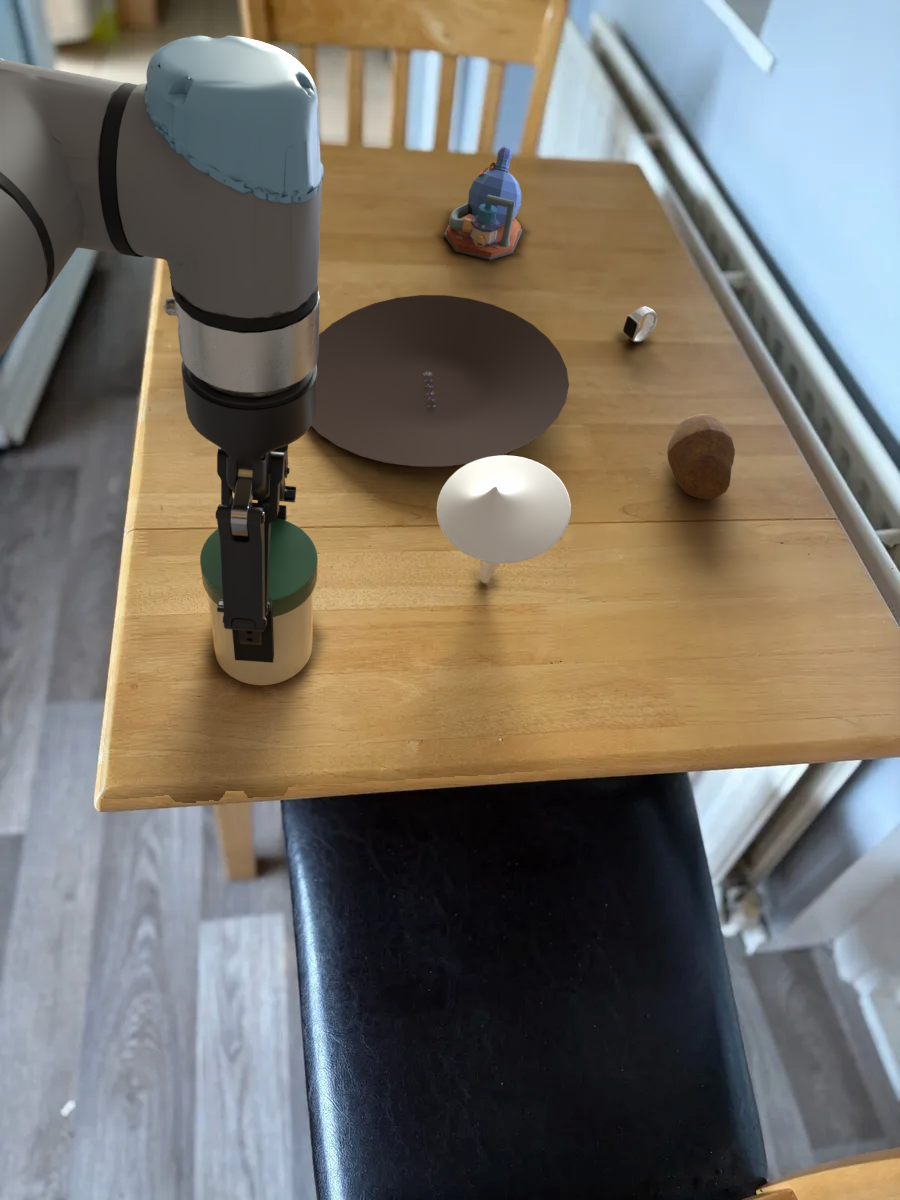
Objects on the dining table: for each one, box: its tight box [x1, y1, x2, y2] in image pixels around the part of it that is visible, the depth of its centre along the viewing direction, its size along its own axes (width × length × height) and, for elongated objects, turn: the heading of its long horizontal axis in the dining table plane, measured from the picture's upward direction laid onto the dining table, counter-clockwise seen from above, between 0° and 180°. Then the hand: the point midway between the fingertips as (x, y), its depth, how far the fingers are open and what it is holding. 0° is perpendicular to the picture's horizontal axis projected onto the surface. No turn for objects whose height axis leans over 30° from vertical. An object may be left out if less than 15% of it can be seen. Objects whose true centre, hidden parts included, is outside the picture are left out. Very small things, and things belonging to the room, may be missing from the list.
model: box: [443, 145, 523, 261], centre depth 113 cm, size 12×9×9 cm
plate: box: [311, 294, 570, 467], centre depth 93 cm, size 28×28×4 cm
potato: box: [666, 413, 736, 500], centre depth 89 cm, size 7×10×6 cm
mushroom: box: [436, 455, 572, 584], centre depth 74 cm, size 10×11×12 cm
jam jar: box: [207, 589, 315, 686], centre depth 68 cm, size 8×8×10 cm
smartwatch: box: [622, 306, 658, 343], centre depth 104 cm, size 4×2×4 cm, turn 121°
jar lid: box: [199, 518, 319, 617], centre depth 64 cm, size 8×8×2 cm
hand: (262, 609), depth 68 cm, fingers closed on jar lid, 8 cm apart
